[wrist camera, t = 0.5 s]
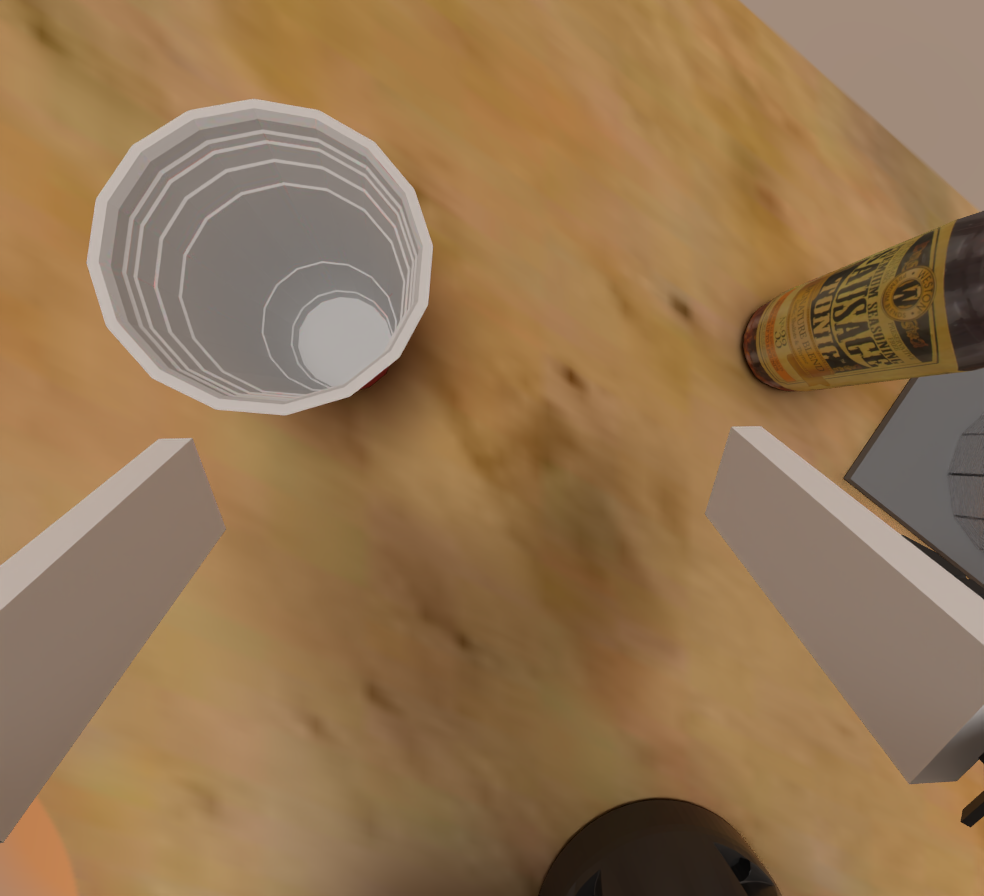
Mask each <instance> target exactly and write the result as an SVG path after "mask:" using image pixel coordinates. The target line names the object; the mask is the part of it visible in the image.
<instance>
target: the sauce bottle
mask: <svg viewBox="0 0 984 896" xmlns="http://www.w3.org/2000/svg"><path fill="white" fill-rule="evenodd" d="M743 347H744V353H745V356H746V359H747V362H748V364H749V366H750V368H751V369H752V372H753V373H754V375H755V376H756V378H758V379H759V380H760V381H762V382H763V383H766V384H769V385H770V386H772V387H775V388H778V389H780V390H785V391H812V390H820V389H828V388H836V387H844V386H852V385H859V384H867V383H876V382H884V381H892V380H900V379H908V378H916V377H925V376H933V375H942V374H951V373H959V372H967V371H974V370H979V369H982V368H984V211H982V212H979V213H976V214H973V215H970V216H967V217H964V218H961V219H957V220H955V221H952V222H950V223H948V224H945V225H943V226H940V227H938V228H936V229H933V230H931V231H928V232H926V233H924V234H921V235H919V236H916V237H914V238H912V239H909V240H907V241H904V242H902V243H900V244H897V245H895V246H892V247H890V248H888V249H885V250H883V251H880V252H878V253H876V254H873V255H871V256H869V257H866V258H864V259H862V260H859V261H857V262H855V263H852V264H850V265H848V266H845V267H843V268H841V269H838V270H836V271H833V272H831V273H828V274H826V275H824V276H821V277H819V278H816V279H814V280H812V281H809V282H807V283H804V284H802V285H800V286H797V287H795V288H793V289H790V290H788V291H786V292H784V293H782V294H780V295H779V296H778V297H776V298H775V299H773V300H772V301H770V302H768V303H767V304H765V305H764V306H762V307H761V308H759V309H758V310H757V311H756V312H755V313H754V315H753V316H752V318H751V320H750V322H749V323H748V326H747V328H746V332H745V334H744V343H743Z"/></svg>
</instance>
